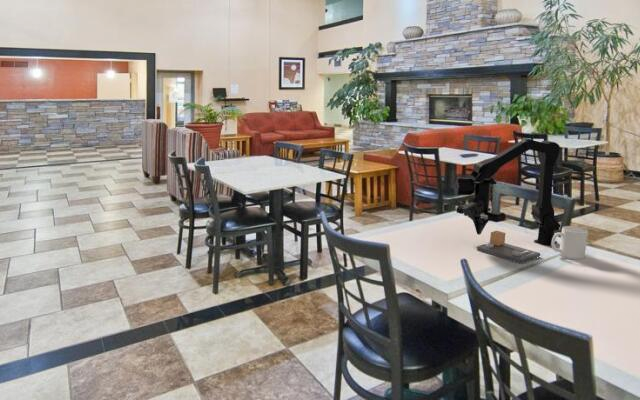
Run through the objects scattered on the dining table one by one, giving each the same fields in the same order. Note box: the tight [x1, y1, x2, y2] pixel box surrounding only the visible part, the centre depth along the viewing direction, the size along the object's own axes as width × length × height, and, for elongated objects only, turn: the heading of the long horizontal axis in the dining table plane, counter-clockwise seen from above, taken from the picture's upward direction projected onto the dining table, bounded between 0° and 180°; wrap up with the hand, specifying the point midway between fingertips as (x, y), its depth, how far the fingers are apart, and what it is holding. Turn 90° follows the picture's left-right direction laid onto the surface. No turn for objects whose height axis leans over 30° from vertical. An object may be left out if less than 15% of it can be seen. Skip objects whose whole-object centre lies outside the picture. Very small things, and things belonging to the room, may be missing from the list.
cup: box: [550, 225, 589, 261], centre depth 177 cm, size 8×12×10 cm
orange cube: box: [489, 230, 506, 246], centre depth 185 cm, size 4×4×4 cm
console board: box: [476, 242, 541, 264], centre depth 180 cm, size 12×18×3 cm, turn 37°
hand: (478, 234), depth 192 cm, fingers closed
